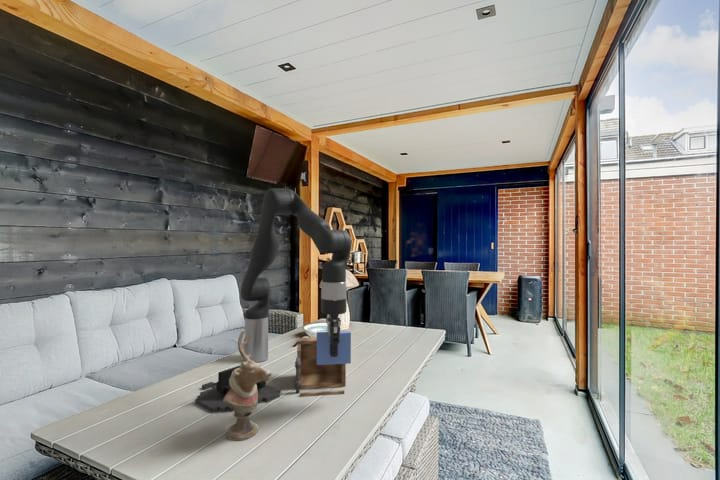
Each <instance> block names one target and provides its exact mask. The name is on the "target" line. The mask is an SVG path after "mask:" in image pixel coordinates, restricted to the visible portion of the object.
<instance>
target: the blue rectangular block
mask: <svg viewBox="0 0 720 480" xmlns="http://www.w3.org/2000/svg"><path fill="white" fill-rule="evenodd" d="M330 333H331V332H330ZM316 337H317V365H329V364H351V363H352V360H351V358H352V351H351V350H352V332H351V331H350V330H346V331H345V330H342V331H341V330H340V336H339V344H338V356H337V357H331V356H330V343H329V341H330V336H329V335H328V331H317V332H316ZM333 339H337V338H333Z"/></svg>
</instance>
